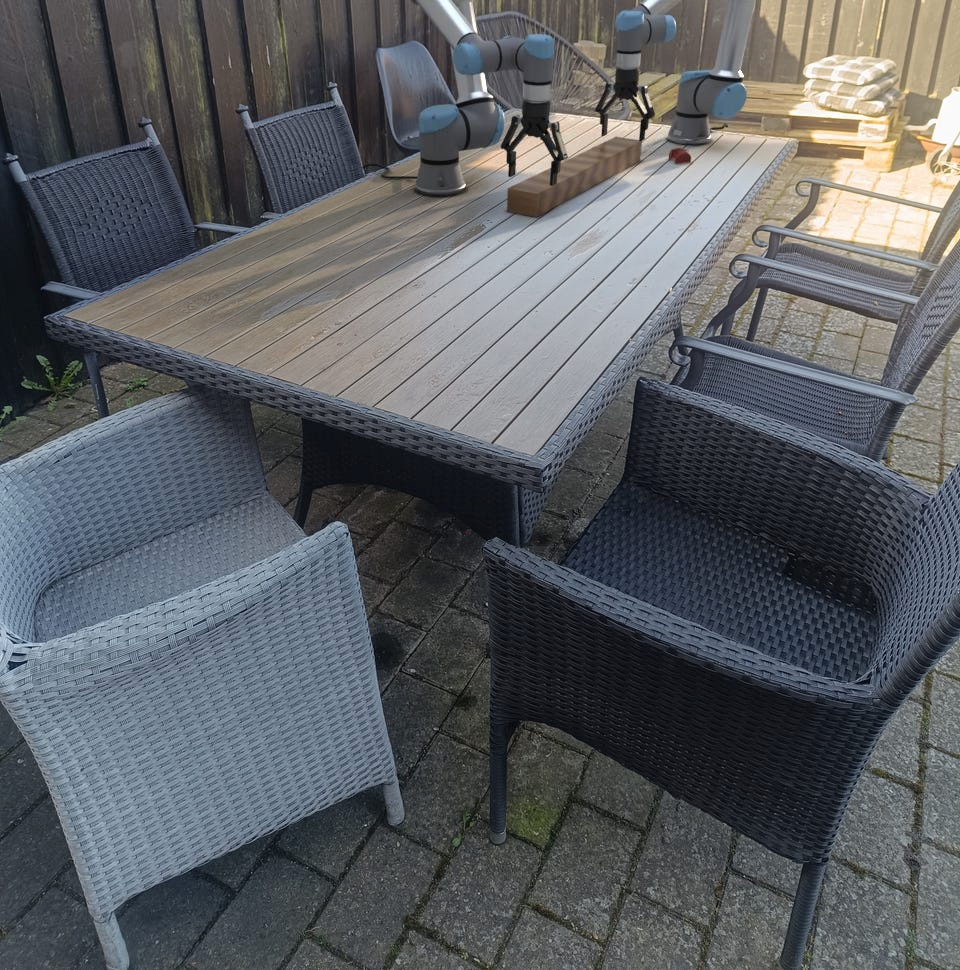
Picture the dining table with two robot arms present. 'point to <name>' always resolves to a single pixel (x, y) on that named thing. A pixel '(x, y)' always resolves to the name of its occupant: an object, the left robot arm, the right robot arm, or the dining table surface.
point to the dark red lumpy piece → (680, 155)
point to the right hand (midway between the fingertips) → (622, 137)
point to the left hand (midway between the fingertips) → (532, 180)
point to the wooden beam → (573, 176)
